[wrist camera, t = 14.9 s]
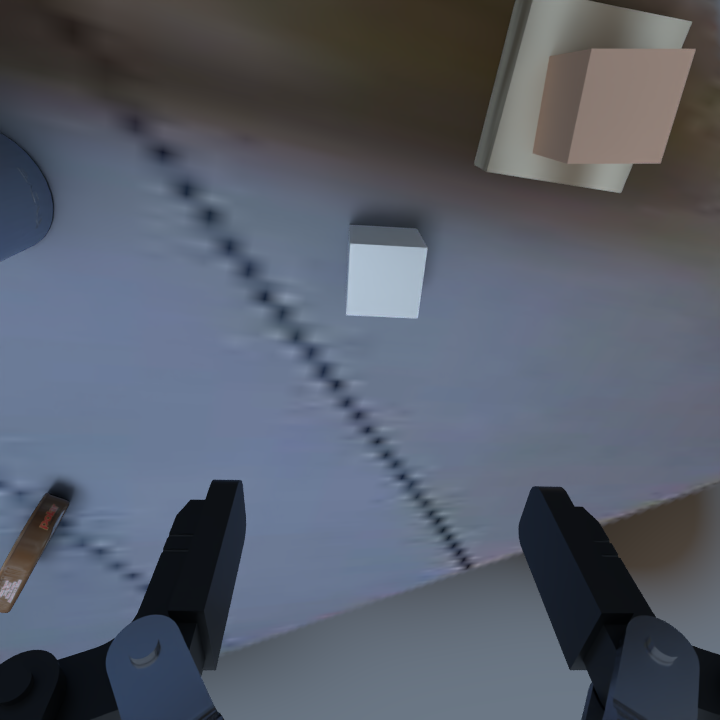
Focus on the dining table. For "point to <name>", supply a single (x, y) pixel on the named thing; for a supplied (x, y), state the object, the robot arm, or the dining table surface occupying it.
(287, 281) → the dining table surface
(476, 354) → the dining table surface
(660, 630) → the robot arm
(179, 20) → the dining table surface
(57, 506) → the tin
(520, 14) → the gray block
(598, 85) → the terracotta cube
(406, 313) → the offwhite cube
